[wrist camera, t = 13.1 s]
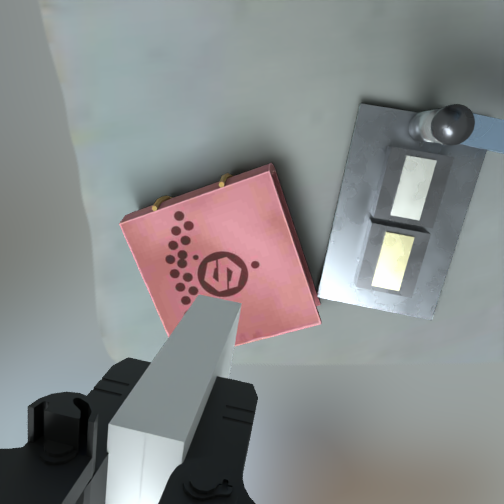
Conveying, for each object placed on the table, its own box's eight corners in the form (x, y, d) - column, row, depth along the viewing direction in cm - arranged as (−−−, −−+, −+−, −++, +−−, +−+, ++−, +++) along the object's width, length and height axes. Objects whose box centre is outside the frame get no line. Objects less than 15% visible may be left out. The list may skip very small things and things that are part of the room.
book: (271, 156, 39) (265, 160, 34) (320, 302, 42) (321, 324, 37) (137, 205, 42) (115, 214, 37) (192, 336, 45) (178, 360, 40)
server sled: (360, 101, 36) (369, 95, 30) (490, 122, 35) (527, 120, 29) (317, 293, 41) (317, 320, 35) (428, 315, 40) (449, 348, 34)
